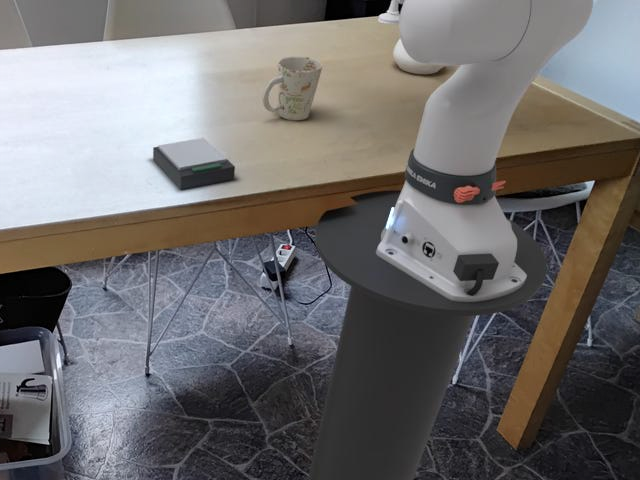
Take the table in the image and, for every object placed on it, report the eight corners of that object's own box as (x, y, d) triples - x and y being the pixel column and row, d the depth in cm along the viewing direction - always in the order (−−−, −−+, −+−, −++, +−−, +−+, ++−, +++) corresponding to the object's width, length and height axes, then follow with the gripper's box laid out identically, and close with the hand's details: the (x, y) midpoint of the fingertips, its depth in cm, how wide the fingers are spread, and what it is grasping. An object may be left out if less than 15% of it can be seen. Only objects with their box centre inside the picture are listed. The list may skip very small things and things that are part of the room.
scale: (234, 179, 124) (235, 163, 122) (180, 189, 121) (181, 173, 119) (203, 151, 132) (204, 135, 130) (153, 160, 129) (153, 144, 127)
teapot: (464, 82, 160) (478, 34, 153) (412, 85, 158) (423, 36, 151) (425, 52, 175) (436, 7, 168) (376, 54, 173) (385, 9, 166)
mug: (323, 117, 145) (331, 65, 138) (276, 131, 139) (282, 78, 133) (294, 103, 150) (301, 53, 143) (248, 116, 144) (252, 65, 138)
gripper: (362, -94, 133) (349, -11, 141) (435, -75, 118) (415, 16, 127) (391, -96, 134) (376, -14, 143) (466, -77, 120) (444, 12, 129)
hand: (395, 0), depth 135 cm, fingers closed
